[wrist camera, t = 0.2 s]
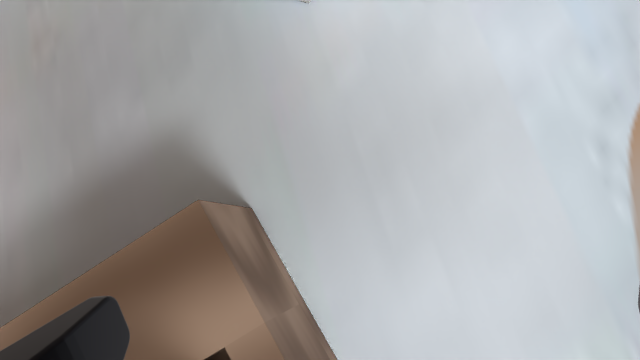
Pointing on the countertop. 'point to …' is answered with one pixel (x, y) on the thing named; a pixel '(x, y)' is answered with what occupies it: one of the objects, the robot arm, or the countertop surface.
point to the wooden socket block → (196, 293)
